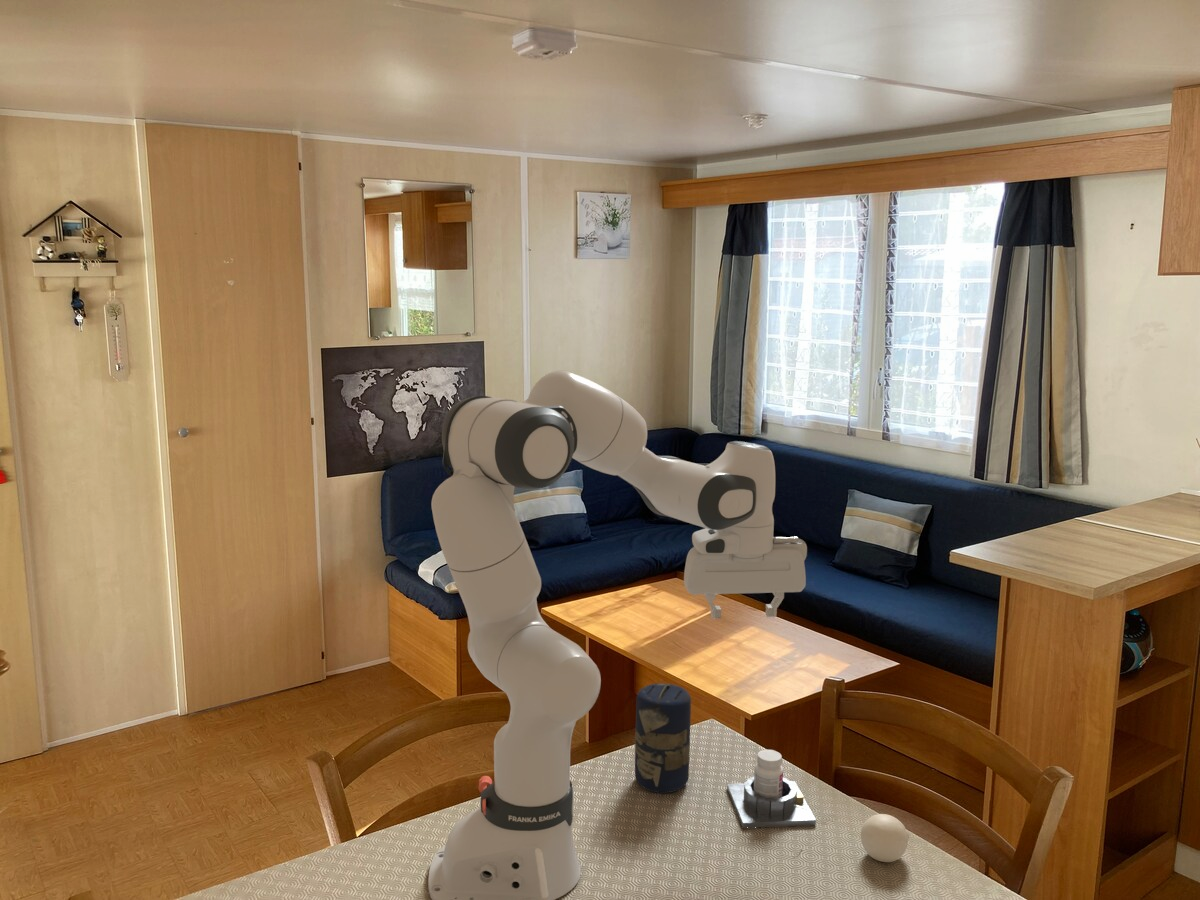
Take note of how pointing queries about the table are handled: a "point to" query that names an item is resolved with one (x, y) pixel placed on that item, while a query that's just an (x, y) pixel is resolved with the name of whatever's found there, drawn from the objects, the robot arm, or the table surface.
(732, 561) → the robot arm
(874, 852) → the beige sphere
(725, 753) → the table surface
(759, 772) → the pill bottle
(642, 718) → the canister
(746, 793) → the lock socket
